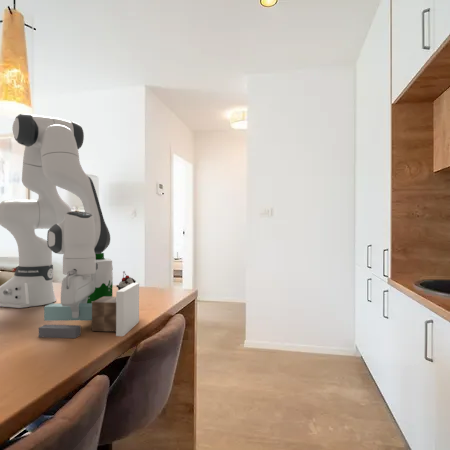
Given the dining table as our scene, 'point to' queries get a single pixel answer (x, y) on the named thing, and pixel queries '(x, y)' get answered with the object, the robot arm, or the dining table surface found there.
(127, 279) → the sundae
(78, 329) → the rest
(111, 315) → the block
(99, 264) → the milk carton
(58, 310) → the peg
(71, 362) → the dining table surface
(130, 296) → the wall
